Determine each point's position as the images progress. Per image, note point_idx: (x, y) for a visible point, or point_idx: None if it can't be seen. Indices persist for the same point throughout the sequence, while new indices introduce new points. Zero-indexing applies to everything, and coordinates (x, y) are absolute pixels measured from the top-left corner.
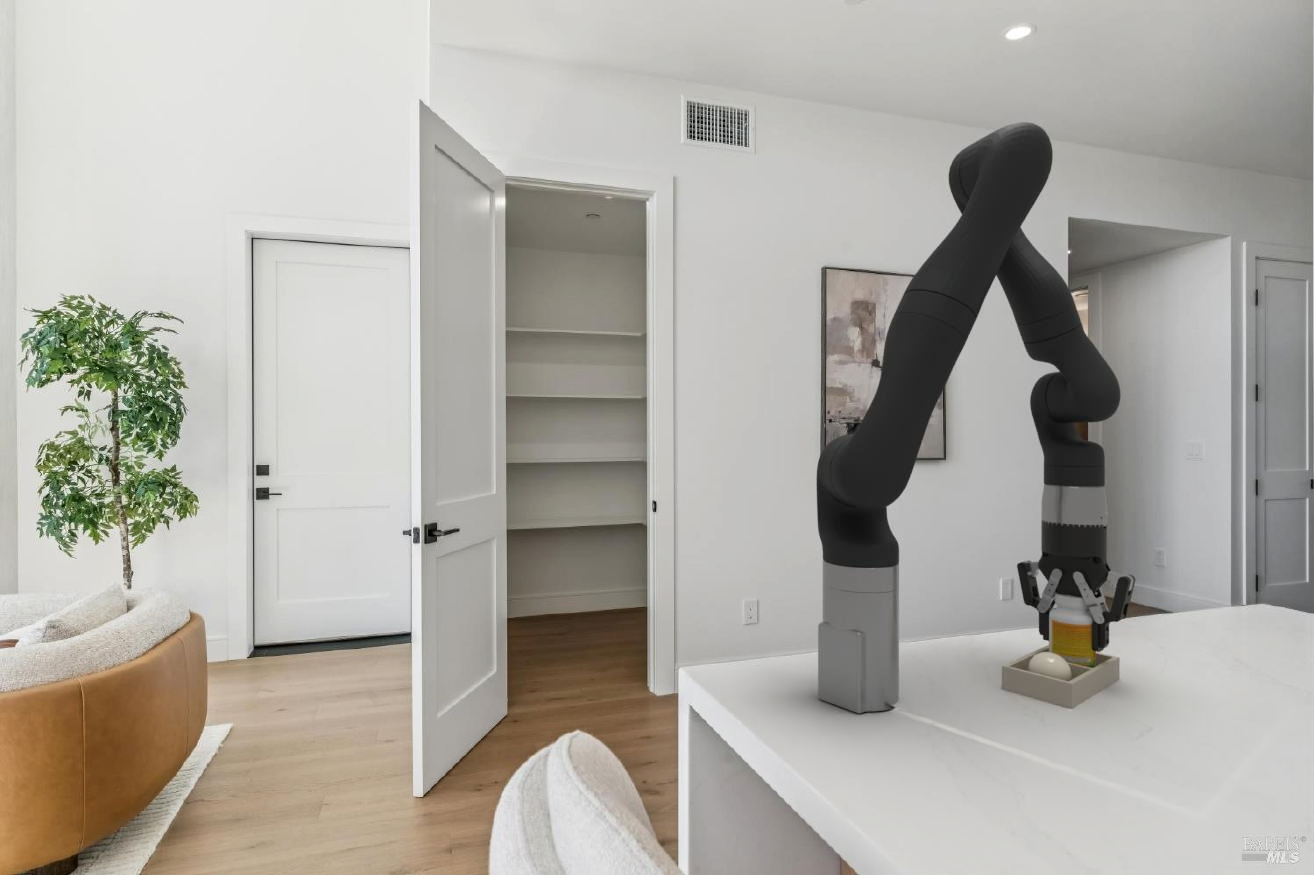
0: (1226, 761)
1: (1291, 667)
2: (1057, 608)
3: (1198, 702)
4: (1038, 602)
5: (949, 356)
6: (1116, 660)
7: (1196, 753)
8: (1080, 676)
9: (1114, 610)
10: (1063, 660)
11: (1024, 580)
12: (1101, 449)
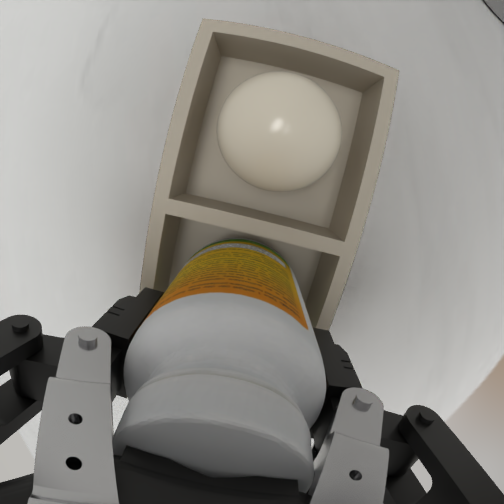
0: (20, 40)
1: None
2: (290, 395)
3: (40, 296)
4: (382, 430)
5: None
6: None
7: (43, 34)
8: (186, 98)
9: (3, 344)
10: (235, 116)
11: (480, 490)
12: None
